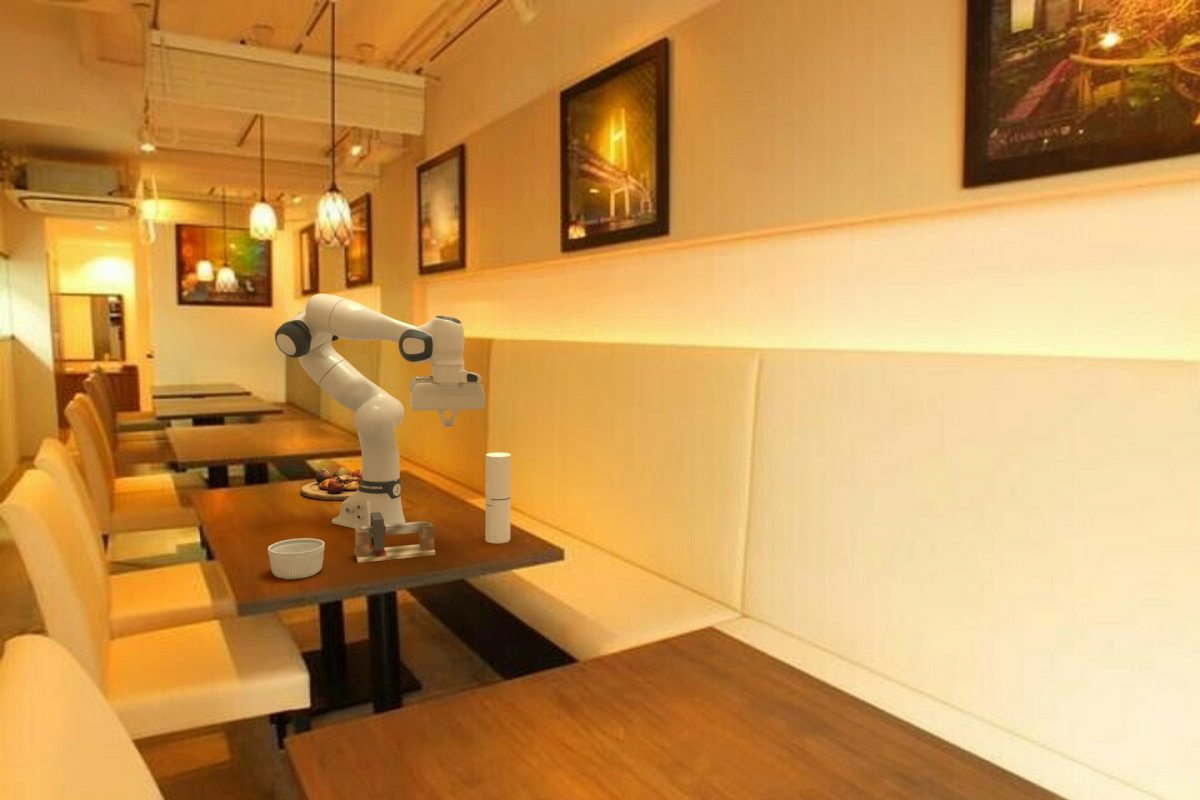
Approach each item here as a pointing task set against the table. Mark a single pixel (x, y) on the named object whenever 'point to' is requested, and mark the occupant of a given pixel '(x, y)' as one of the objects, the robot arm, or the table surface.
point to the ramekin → (296, 558)
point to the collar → (377, 530)
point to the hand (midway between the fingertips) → (448, 426)
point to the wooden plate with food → (333, 485)
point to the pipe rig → (398, 551)
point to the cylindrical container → (498, 497)
